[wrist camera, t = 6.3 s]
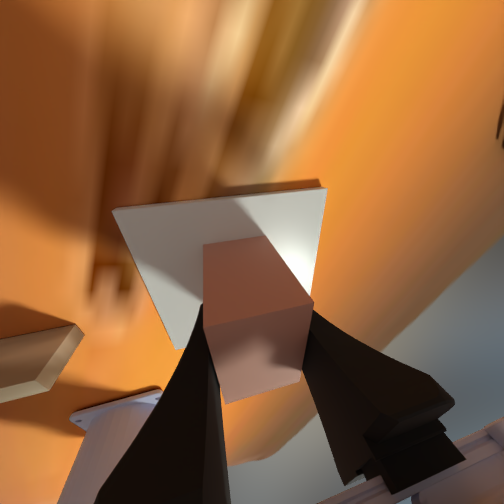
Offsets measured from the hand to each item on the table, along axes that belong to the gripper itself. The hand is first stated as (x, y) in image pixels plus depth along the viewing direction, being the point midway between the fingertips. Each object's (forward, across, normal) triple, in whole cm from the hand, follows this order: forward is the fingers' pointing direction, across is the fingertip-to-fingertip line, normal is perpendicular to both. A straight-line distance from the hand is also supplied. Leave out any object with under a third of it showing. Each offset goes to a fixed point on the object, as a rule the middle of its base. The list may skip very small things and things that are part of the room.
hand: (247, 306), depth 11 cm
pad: (+3, 0, 0) cm, 3 cm away
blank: (+2, 0, 0) cm, 2 cm away
